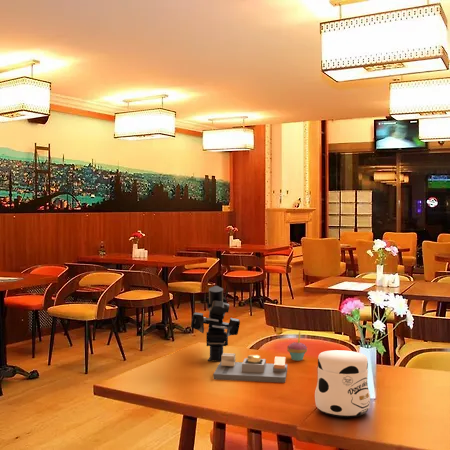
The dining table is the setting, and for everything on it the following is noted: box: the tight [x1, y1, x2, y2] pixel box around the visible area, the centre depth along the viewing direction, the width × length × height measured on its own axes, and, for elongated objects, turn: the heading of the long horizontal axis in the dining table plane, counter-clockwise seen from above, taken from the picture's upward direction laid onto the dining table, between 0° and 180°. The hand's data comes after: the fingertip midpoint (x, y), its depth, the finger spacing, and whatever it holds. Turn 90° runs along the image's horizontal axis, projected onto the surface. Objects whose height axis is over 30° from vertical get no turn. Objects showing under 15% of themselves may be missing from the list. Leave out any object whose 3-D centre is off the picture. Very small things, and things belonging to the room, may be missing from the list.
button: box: [247, 354, 262, 364], centre depth 228 cm, size 5×5×3 cm
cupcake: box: [286, 331, 308, 362], centre depth 250 cm, size 9×8×12 cm
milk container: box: [314, 349, 371, 419], centre depth 187 cm, size 17×17×18 cm
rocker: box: [273, 356, 286, 369], centre depth 227 cm, size 7×4×1 cm, turn 171°
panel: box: [212, 357, 288, 384], centre depth 228 cm, size 18×27×5 cm, turn 81°
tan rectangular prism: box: [220, 352, 236, 366], centre depth 233 cm, size 4×5×4 cm
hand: (214, 333), depth 224 cm, fingers open, 9 cm apart
